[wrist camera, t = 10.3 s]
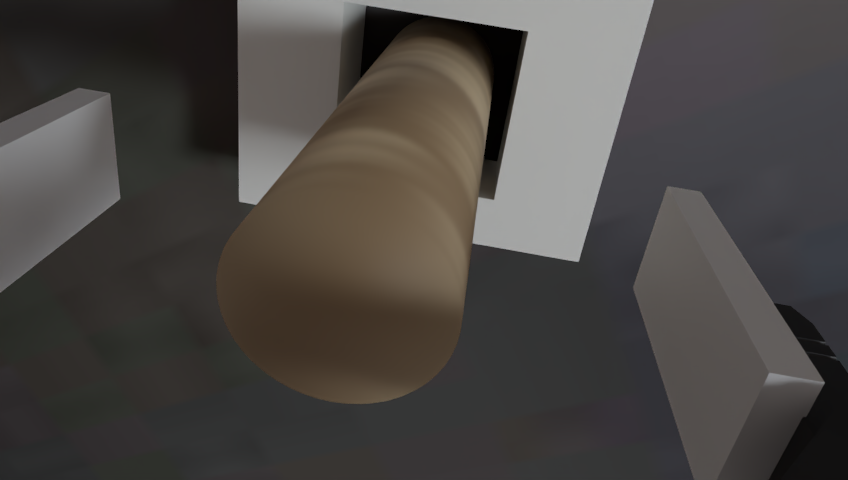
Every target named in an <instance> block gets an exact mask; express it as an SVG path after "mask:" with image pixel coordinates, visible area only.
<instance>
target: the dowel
mask: <svg viewBox="0 0 848 480" xmlns="http://www.w3.org/2000/svg"><path fill="white" fill-rule="evenodd" d="M493 84H494V63H493V59H492V55H491V52H490V50H489V48H488V46H487V44H486V43H485V41H484V40H483V38H482V37H481V36H480V35H479V34H478V33H477V32H476V31H475V30H474V29H473V28H471V27H470V26H469V25H467V24H465V23H464V22H462V21H459V20H454V19H448V18H441V17H435V16H432V17H426V18H422V19H419V20H417V21H415V22H413V23H411V24H409V25H408V26H406V27H405V28H404V29H402V30H401V31H400V32H399V33H398V34H397V36H396V37H395V38H394V39H393V40H392V42H391V43H390V44H389V45H388V46H387V48H386V49H385V50H384V51H383V52H382V54H381V55H380V56H379V57H378V59H377V60H376V61H375V62H374V63H373V65H372V66H371V67H370V68H369V69H368V71H367V72H366V73H365V74H364V75H363V77H362V78H361V79H360V80H359V81H358V83H357V84H356V85H355V86H354V88H353V89H352V90H351V91H350V92H349V94H348V95H347V96H346V97H345V98H344V100H343V101H342V102H341V103H340V104H339V106H338V107H337V108H336V109H335V110H334V112H333V113H332V114H331V115H330V117H329V118H328V119H327V120H326V121H325V123H324V124H323V125H322V126H321V127H320V129H319V130H318V131H317V132H316V133H315V135H314V136H313V137H312V138H311V139H310V141H309V142H308V143H307V144H306V146H305V147H304V148H303V149H302V150H301V152H300V153H299V154H298V155H297V156H296V158H295V159H294V160H293V161H292V162H291V164H290V165H289V166H288V167H287V168H286V170H285V171H284V172H283V173H282V175H281V176H280V177H279V178H278V179H277V181H276V182H275V183H274V184H273V185H272V187H271V188H270V189H269V190H268V191H267V193H266V194H265V195H264V196H263V197H262V199H261V200H260V201H259V202H258V204H257V205H256V206H255V207H254V208H253V210H252V211H251V212H250V213H249V214H248V216H247V217H246V218H245V219H244V220H243V222H242V223H241V224H240V225H239V226H238V228H237V229H236V230H235V231H234V233H233V234H232V235H231V237H230V238H229V240H228V242H227V243H226V245H225V247H224V249H223V252H222V254H221V257H220V260H219V265H218V270H217V281H216V288H217V298H218V303H219V307H220V311H221V314H222V316H223V319H224V321H225V324H226V326H227V328H228V330H229V332H230V333H231V335H232V337H233V339H234V340H235V341H236V343H237V344H238V345H239V347H240V348H241V350H242V351H243V352H244V353H245V354H246V355H247V356H248V357H249V358H250V360H251V361H252V362H254V363H255V364H256V365H257V366H258V367H259V368H260V369H261V370H263V371H264V372H265V373H267V374H268V375H269V376H271V377H272V378H274V379H275V380H277V381H279V382H280V383H282V384H284V385H285V386H287V387H289V388H291V389H294V390H296V391H298V392H300V393H303V394H306V395H308V396H311V397H314V398H318V399H322V400H326V401H330V402H338V403H345V404H367V403H377V402H383V401H388V400H391V399H395V398H398V397H401V396H404V395H406V394H408V393H410V392H413V391H415V390H416V389H418V388H420V387H421V386H423V385H425V384H426V383H427V382H428V381H430V380H431V379H432V378H433V377H435V376H436V375H437V374H438V373H439V371H440V370H441V369H442V368H443V367H444V366H445V364H446V363H447V362H448V360H449V359H450V357H451V356H452V354H453V351H454V349H455V347H456V345H457V342H458V339H459V335H460V331H461V325H462V317H463V310H464V302H465V295H466V287H467V280H468V272H469V265H470V257H471V249H472V242H473V234H474V227H475V219H476V212H477V204H478V197H479V189H480V182H481V174H482V167H483V159H484V151H485V144H486V136H487V129H488V121H489V114H490V106H491V99H492V91H493Z"/></svg>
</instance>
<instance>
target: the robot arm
mask: <svg viewBox="0 0 848 480" xmlns="http://www.w3.org/2000/svg"><path fill="white" fill-rule="evenodd" d="M119 199H120V191H119V181H118V170H117V160H116V150H115V139H114V129H113V119H112V109H111V98H110V93H106V92H100V91H94V90H88V89H82V88H77V89H75V90H73V91H71V92H68V93H66V94H64V95H62V96H60V97H57V98H55V99H53V100H51V101H48V102H46V103H44V104H42V105H39V106H37V107H35V108H33V109H30V110H28V111H26V112H24V113H22V114H19V115H17V116H15V117H13V118H10V119H8V120H6V121H4V122H1V123H0V292H1V291H3V290H4V289H5V288H7V287H8V286H9V285H10V284H12V283H13V282H14V281H16V280H17V279H18V278H19V277H21V276H22V275H23V274H25V273H26V272H27V271H28V270H30V269H31V268H32V267H33V266H35V265H36V264H37V263H39V262H40V261H41V260H42V259H44V258H45V257H46V256H48V255H49V254H50V253H51V252H53V251H54V250H55V249H57V248H58V247H59V246H60V245H62V244H63V243H64V242H66V241H67V240H68V239H69V238H71V237H72V236H73V235H74V234H76V233H77V232H78V231H80V230H81V229H82V228H83V227H85V226H86V225H87V224H89V223H90V222H91V221H92V220H94V219H95V218H96V217H98V216H99V215H100V214H101V213H103V212H104V211H105V210H107V209H108V208H109V207H110V206H112V205H113V204H114V203H116V202H117V201H118V200H119ZM633 289H634V292H635V295H636V298H637V301H638V305H639V308H640V311H641V314H642V317H643V320H644V323H645V327H646V330H647V333H648V336H649V339H650V342H651V345H652V349H653V352H654V355H655V358H656V361H657V364H658V367H659V371H660V374H661V377H662V380H663V383H664V386H665V390H666V393H667V396H668V399H669V402H670V405H671V408H672V412H673V415H674V418H675V421H676V424H677V427H678V430H679V434H680V437H681V440H682V443H683V446H684V449H685V452H686V456H687V459H688V462H689V465H690V468H691V471H692V474H693V478H694V480H848V373H847V371H846V370H845V369H844V367H843V366H842V364H841V363H840V361H836V356H835V354H834V353H833V352H832V350H831V349H830V347H829V346H827V345H825V343H826V342H825V340H824V339H823V338H822V336H821V335H820V333H819V332H818V331H817V329H816V328H815V326H814V325H813V324H812V323H811V322H810V321H809V320H807V319H806V318H805V317H803V316H802V315H801V314H800V313H798V312H797V311H796V310H795V309H793V308H792V307H791V306H787V305H781V304H775V303H773V302H772V300H771V299H770V297H769V296H768V294H767V293H766V291H765V290H764V288H763V286H762V285H761V283H760V282H759V280H758V279H757V277H756V276H755V274H754V273H753V271H752V270H751V268H750V266H749V265H748V263H747V262H746V260H745V259H744V257H743V256H742V254H741V253H740V251H739V250H738V248H737V246H736V245H735V243H734V242H733V240H732V239H731V237H730V236H729V234H728V233H727V231H726V230H725V228H724V226H723V225H722V223H721V222H720V220H719V219H718V217H717V216H716V214H715V213H714V211H713V210H712V208H711V206H710V205H709V203H708V202H707V200H706V199H705V197H704V196H703V194H702V193H701V192H699V191H693V190H687V189H681V188H675V187H669V186H667V189H666V192H665V195H664V198H663V201H662V204H661V207H660V210H659V212H658V215H657V218H656V221H655V224H654V227H653V230H652V233H651V236H650V239H649V242H648V245H647V248H646V251H645V254H644V257H643V260H642V263H641V266H640V269H639V272H638V275H637V278H636V280H635V283H634V286H633Z"/></svg>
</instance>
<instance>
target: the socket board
mask: <svg viewBox="0 0 848 480" xmlns="http://www.w3.org/2000/svg"><path fill="white" fill-rule="evenodd" d="M653 2H654V0H238V123H239V202H244V203H250V204H255V205H257V204H258V202H259V201H260V200H261V199H262V197H263V196H264V195H265V194H266V193H267V191H268V190H269V189H270V188H271V187H272V185H273V184H274V183H275V182H276V181H277V179H278V178H279V177H280V176H281V175H282V173H283V172H284V171H285V170H286V168H287V167H288V166H289V165H290V164H291V162H292V161H293V160H294V159H295V158H296V156H297V155H298V154H299V153H300V152H301V150H302V149H303V148H304V147H305V146H306V144H307V143H308V142H309V141H310V139H311V138H312V137H313V136H314V135H315V133H316V132H317V131H318V130H319V129H320V127H321V126H322V125H323V124H324V123H325V121H326V120H327V119H328V118H329V117H330V115H331V114H332V113H333V112H334V110H335V109H336V108H337V107H338V106H339V104H340V103H341V102H342V101H343V100H344V98H345V97H346V96H347V95H348V94H349V92H350V91H351V90H352V89H353V88H354V86H355V85H356V84H357V83H358V81H359V80H360V74H361V62H362V50H363V38H364V26H365V14H366V5H367V6H373V7H380V8H386V9H392V10H398V11H404V12H410V13H417V14H423V15H429V16H435V17H441V18H448V19H454V20H460V21H466V22H472V23H479V24H485V25H491V26H497V27H503V28H510V29H516V30H522V31H523V35H522V40H521V45H520V50H519V55H518V60H517V65H516V70H515V75H514V80H513V85H512V90H511V95H510V100H509V105H508V110H507V115H506V120H505V125H504V130H503V135H502V140H501V145H500V150H499V155H498V160H497V161H492V160H486V159H483V167H482V174H481V182H480V189H479V197H478V204H477V212H476V219H475V227H474V234H473V242H472V243H474V244H480V245H486V246H491V247H497V248H502V249H508V250H514V251H519V252H525V253H531V254H536V255H542V256H547V257H553V258H559V259H564V260H570V261H576V262H579V258H580V255H581V251H582V248H583V244H584V241H585V237H586V234H587V230H588V227H589V223H590V220H591V217H592V213H593V210H594V206H595V203H596V199H597V196H598V192H599V189H600V185H601V182H602V178H603V175H604V171H605V168H606V165H607V161H608V158H609V154H610V151H611V147H612V144H613V140H614V137H615V133H616V130H617V126H618V123H619V120H620V116H621V113H622V109H623V106H624V102H625V99H626V95H627V92H628V88H629V85H630V81H631V78H632V74H633V71H634V68H635V64H636V61H637V57H638V54H639V50H640V47H641V43H642V40H643V36H644V33H645V29H646V26H647V23H648V19H649V16H650V12H651V9H652V5H653Z"/></svg>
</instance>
